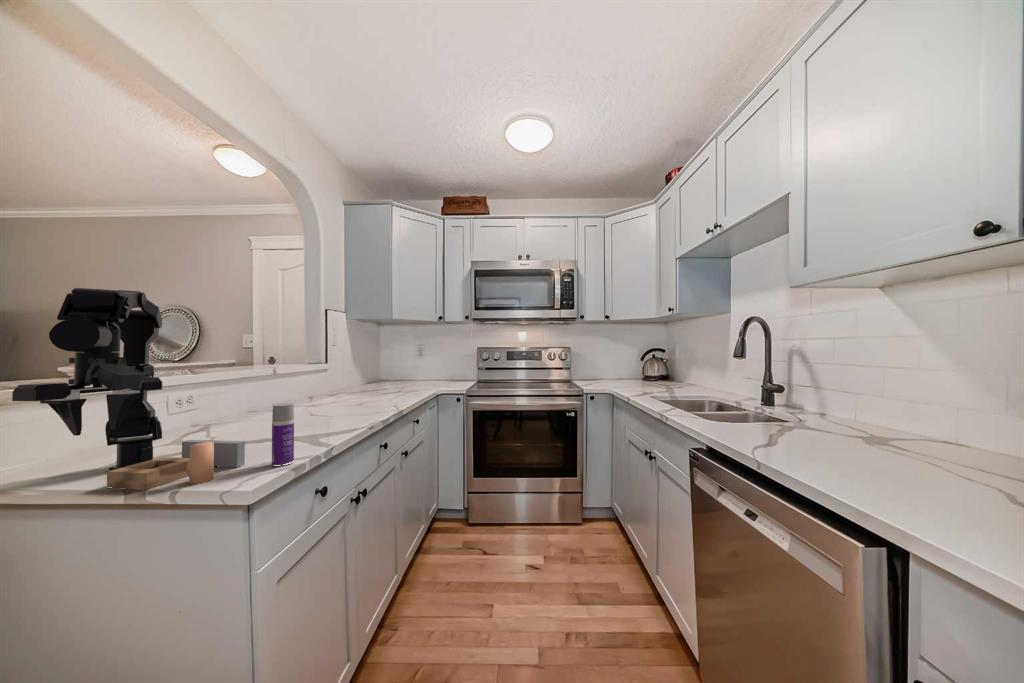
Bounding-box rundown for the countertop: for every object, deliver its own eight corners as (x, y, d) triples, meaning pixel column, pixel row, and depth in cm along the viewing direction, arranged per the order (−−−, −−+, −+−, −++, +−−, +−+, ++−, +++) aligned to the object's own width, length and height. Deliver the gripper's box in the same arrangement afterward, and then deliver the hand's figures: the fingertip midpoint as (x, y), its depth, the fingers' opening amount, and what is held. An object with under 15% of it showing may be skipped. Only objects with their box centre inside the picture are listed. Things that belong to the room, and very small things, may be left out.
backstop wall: (181, 465, 87) (181, 441, 87) (190, 463, 89) (190, 439, 89) (237, 467, 85) (237, 443, 85) (244, 465, 87) (244, 441, 87)
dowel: (184, 483, 75) (184, 446, 75) (203, 477, 79) (203, 441, 79) (200, 484, 74) (200, 447, 74) (218, 477, 78) (218, 442, 78)
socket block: (106, 488, 73) (107, 471, 73) (161, 471, 83) (161, 457, 83) (146, 490, 71) (146, 473, 71) (197, 473, 81) (197, 458, 81)
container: (285, 466, 85) (286, 405, 86) (267, 466, 85) (267, 406, 86) (297, 460, 90) (298, 403, 90) (280, 461, 90) (280, 403, 90)
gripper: (63, 351, 58) (60, 445, 57) (184, 351, 76) (183, 422, 76) (11, 352, 59) (8, 444, 59) (141, 352, 78) (140, 422, 77)
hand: (96, 432), depth 68 cm, fingers open, 5 cm apart
